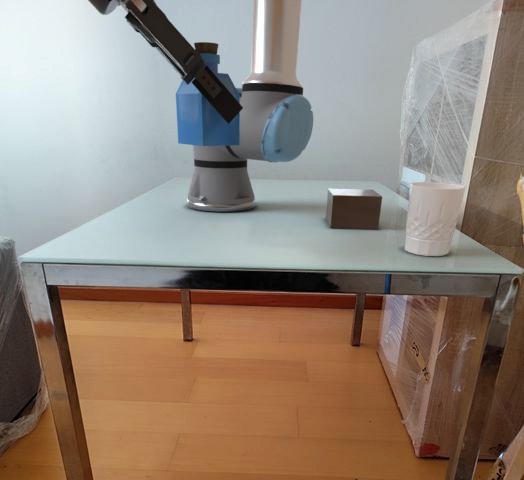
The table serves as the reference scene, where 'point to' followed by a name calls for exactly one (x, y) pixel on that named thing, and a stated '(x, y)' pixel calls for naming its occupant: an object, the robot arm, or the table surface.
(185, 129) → the perfume bottle
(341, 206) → the walnut block
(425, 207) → the white cup
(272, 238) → the table surface
